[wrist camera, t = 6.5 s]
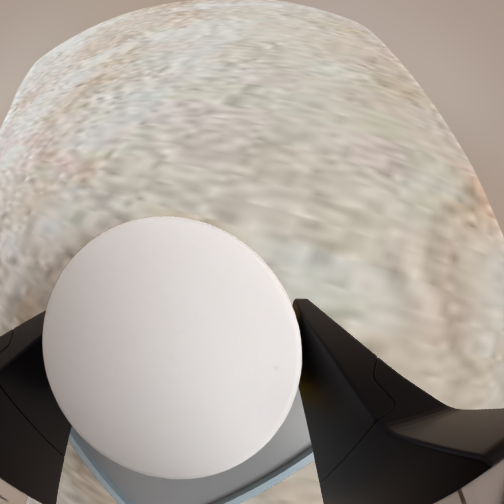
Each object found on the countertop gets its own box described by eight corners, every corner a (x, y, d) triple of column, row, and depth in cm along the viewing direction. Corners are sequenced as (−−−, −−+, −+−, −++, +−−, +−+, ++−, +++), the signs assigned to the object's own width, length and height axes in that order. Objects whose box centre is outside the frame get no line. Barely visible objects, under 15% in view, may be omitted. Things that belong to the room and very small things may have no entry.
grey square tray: (162, 510, 15) (152, 535, 11) (57, 366, 18) (28, 367, 14) (335, 412, 19) (357, 425, 15) (222, 258, 23) (221, 239, 19)
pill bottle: (289, 341, 15) (411, 326, 4) (215, 423, 13) (192, 556, 3) (204, 269, 16) (164, 128, 5) (131, 347, 14) (-21, 333, 3)
